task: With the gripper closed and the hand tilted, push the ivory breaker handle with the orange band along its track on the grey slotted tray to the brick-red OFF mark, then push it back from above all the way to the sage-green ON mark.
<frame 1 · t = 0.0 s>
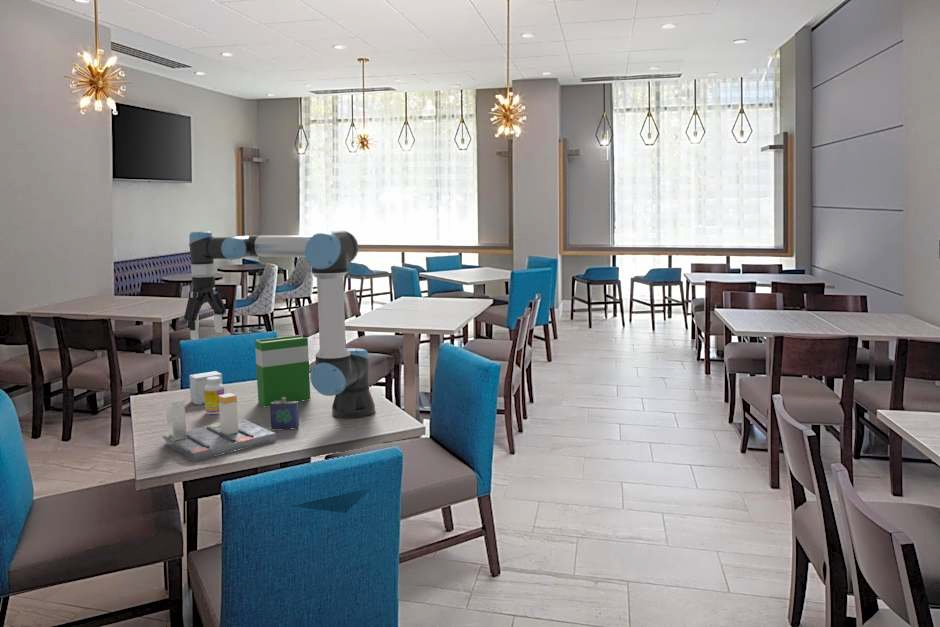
hand: (207, 336, 259), 28 cm above the table, tool pointing down, fingers open, 13 cm apart
grey slotted tray: (221, 442, 230), on the table
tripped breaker: (228, 413, 231), point 9 cm above the table, slide at 6.0 cm
flask: (285, 429, 244), on the table
hardback book: (284, 401, 277), on the table
skincare box: (207, 401, 279), on the table
supplement bottle: (215, 413, 263), on the table
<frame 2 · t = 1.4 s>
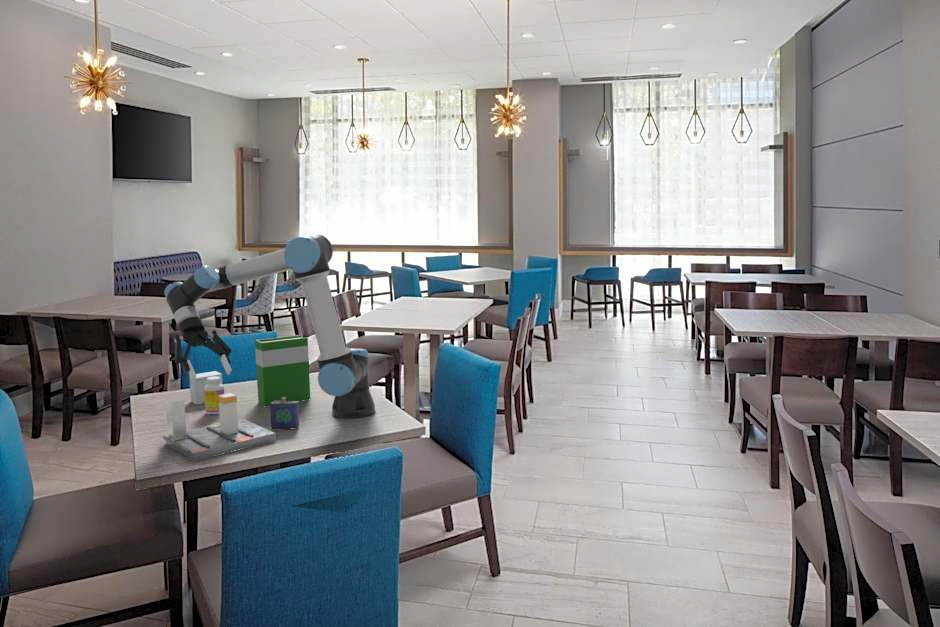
hand: (212, 375, 237), 19 cm above the table, tool tilted 45°, fingers open, 11 cm apart
nothing on the table moved.
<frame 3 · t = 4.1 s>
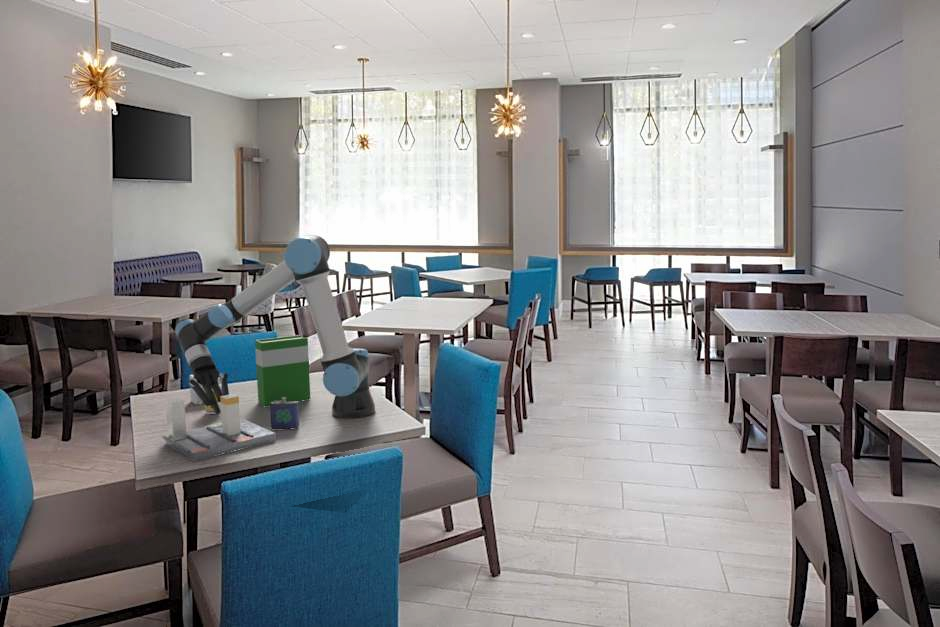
hand: (226, 420, 232), 6 cm above the table, tool tilted 45°, fingers closed
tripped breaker: (230, 414, 230), point 9 cm above the table, slide at 7.5 cm, touching gripper
everything else where it was.
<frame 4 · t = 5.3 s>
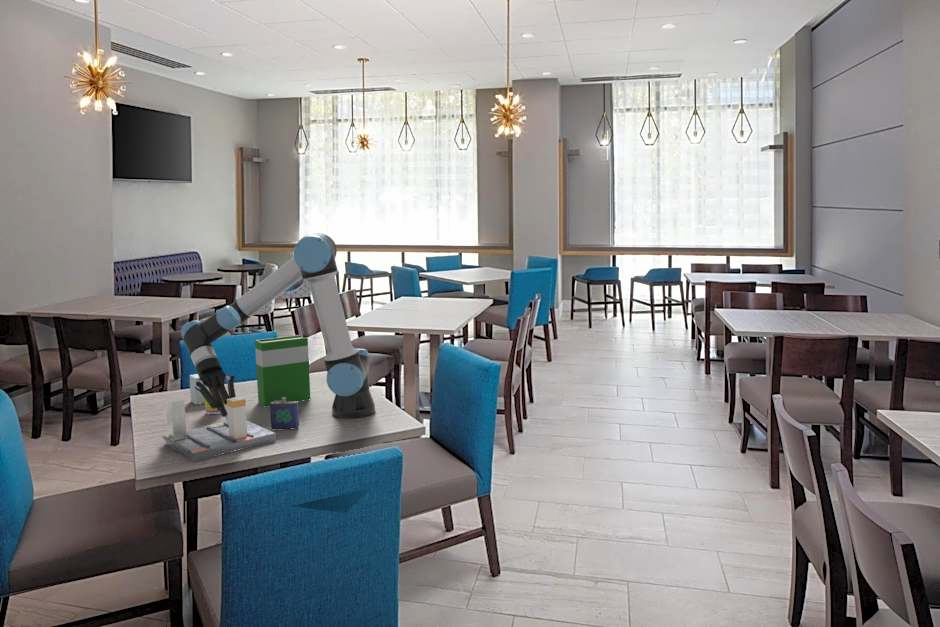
hand: (232, 423, 229), 6 cm above the table, tool tilted 45°, fingers closed
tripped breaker: (237, 417, 227), point 9 cm above the table, slide at 12.0 cm, touching gripper
everything else where it was.
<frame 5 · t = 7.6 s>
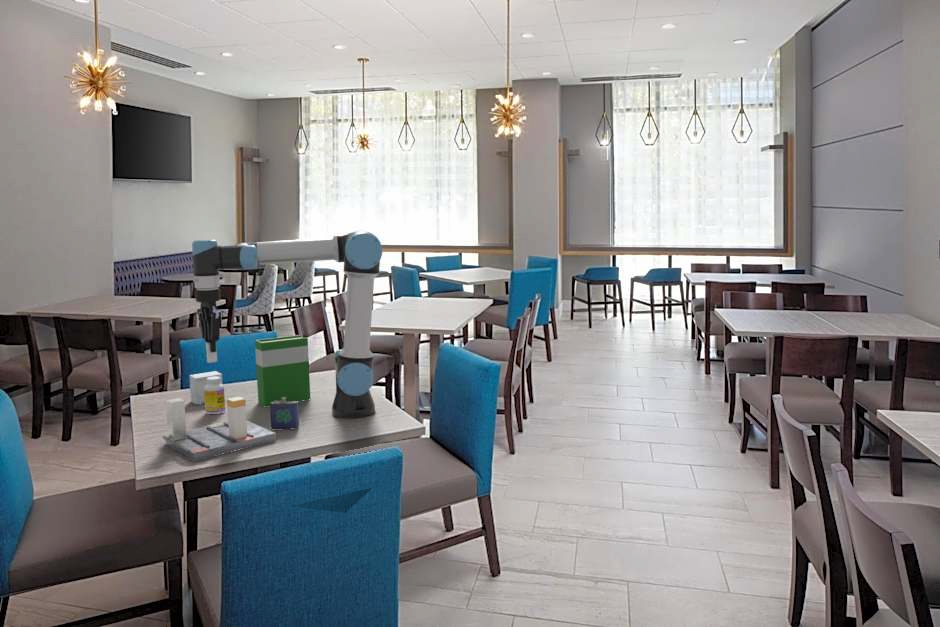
hand: (212, 361, 235), 24 cm above the table, tool pointing down, fingers closed
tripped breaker: (237, 417, 227), point 9 cm above the table, slide at 12.0 cm
everything else where it was.
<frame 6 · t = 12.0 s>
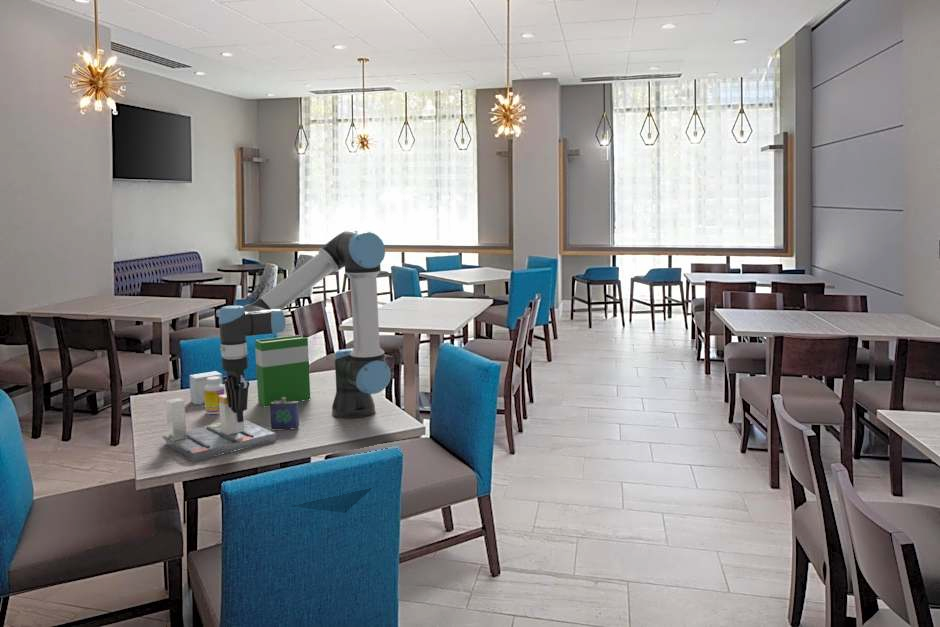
hand: (239, 431, 227), 4 cm above the table, tool pointing down, fingers closed
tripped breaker: (228, 413, 231), point 9 cm above the table, slide at 6.2 cm, touching hand
everything else where it was.
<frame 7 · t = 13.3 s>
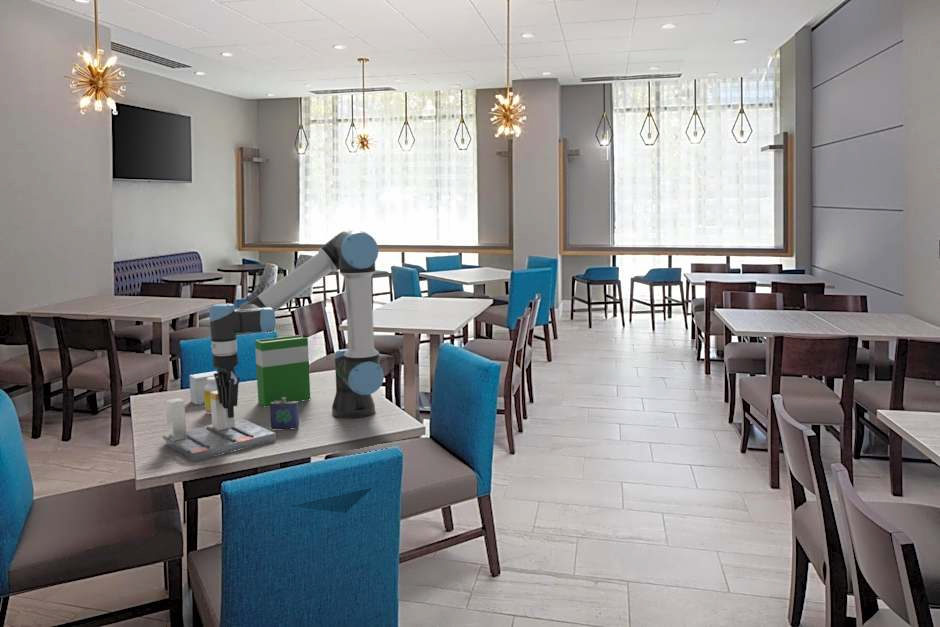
hand: (229, 426, 231), 4 cm above the table, tool pointing down, fingers closed
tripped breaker: (219, 410, 235), point 9 cm above the table, slide at -0.2 cm, touching hand
everything else where it was.
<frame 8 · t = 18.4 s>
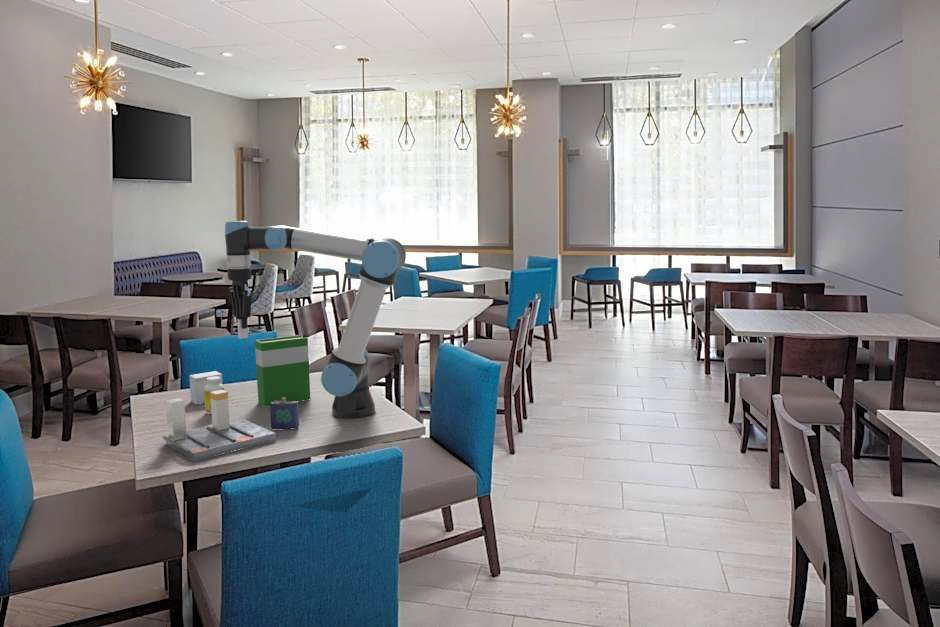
hand: (243, 337, 247), 29 cm above the table, tool pointing down, fingers closed
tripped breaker: (219, 410, 235), point 9 cm above the table, slide at 0.0 cm
everything else where it was.
at the end: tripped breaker slide at 0.0 cm; the gripper is holding nothing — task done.
